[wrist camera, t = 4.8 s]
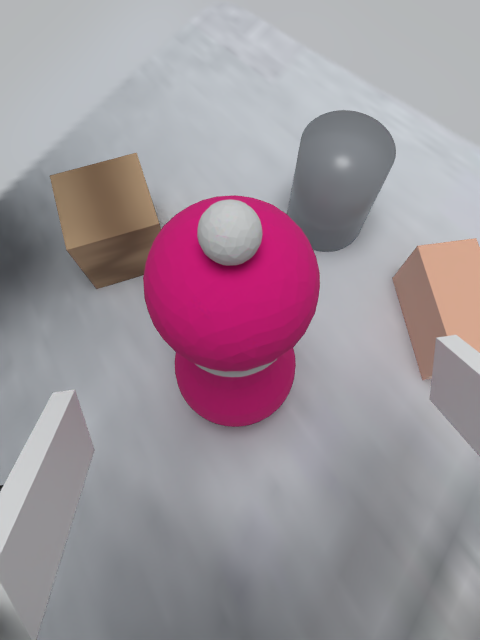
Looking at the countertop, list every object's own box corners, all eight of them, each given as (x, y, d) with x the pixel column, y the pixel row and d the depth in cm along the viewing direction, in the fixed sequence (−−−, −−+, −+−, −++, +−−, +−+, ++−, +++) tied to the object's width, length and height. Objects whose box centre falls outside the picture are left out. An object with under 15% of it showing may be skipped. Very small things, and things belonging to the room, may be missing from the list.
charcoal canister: (294, 256, 33) (311, 192, 25) (280, 193, 35) (291, 116, 27) (369, 246, 33) (407, 179, 26) (351, 184, 35) (381, 105, 28)
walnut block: (97, 289, 32) (66, 250, 26) (81, 225, 34) (49, 175, 28) (173, 266, 33) (159, 223, 27) (153, 204, 34) (136, 152, 29)
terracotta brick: (421, 380, 30) (456, 363, 25) (391, 278, 32) (417, 245, 28) (476, 372, 30) (520, 353, 25) (442, 272, 32) (476, 238, 28)
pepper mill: (259, 315, 31) (290, 74, 12) (305, 405, 29) (429, 277, 10) (168, 355, 30) (50, 158, 11) (209, 451, 28) (144, 405, 9)
